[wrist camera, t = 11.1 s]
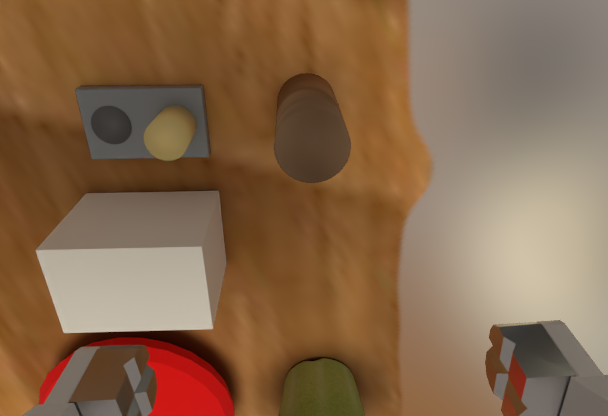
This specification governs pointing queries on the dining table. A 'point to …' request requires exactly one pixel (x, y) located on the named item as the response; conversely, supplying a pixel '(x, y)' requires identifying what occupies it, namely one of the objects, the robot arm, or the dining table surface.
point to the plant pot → (320, 390)
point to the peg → (310, 130)
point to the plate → (145, 121)
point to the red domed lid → (170, 380)
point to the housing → (137, 262)
